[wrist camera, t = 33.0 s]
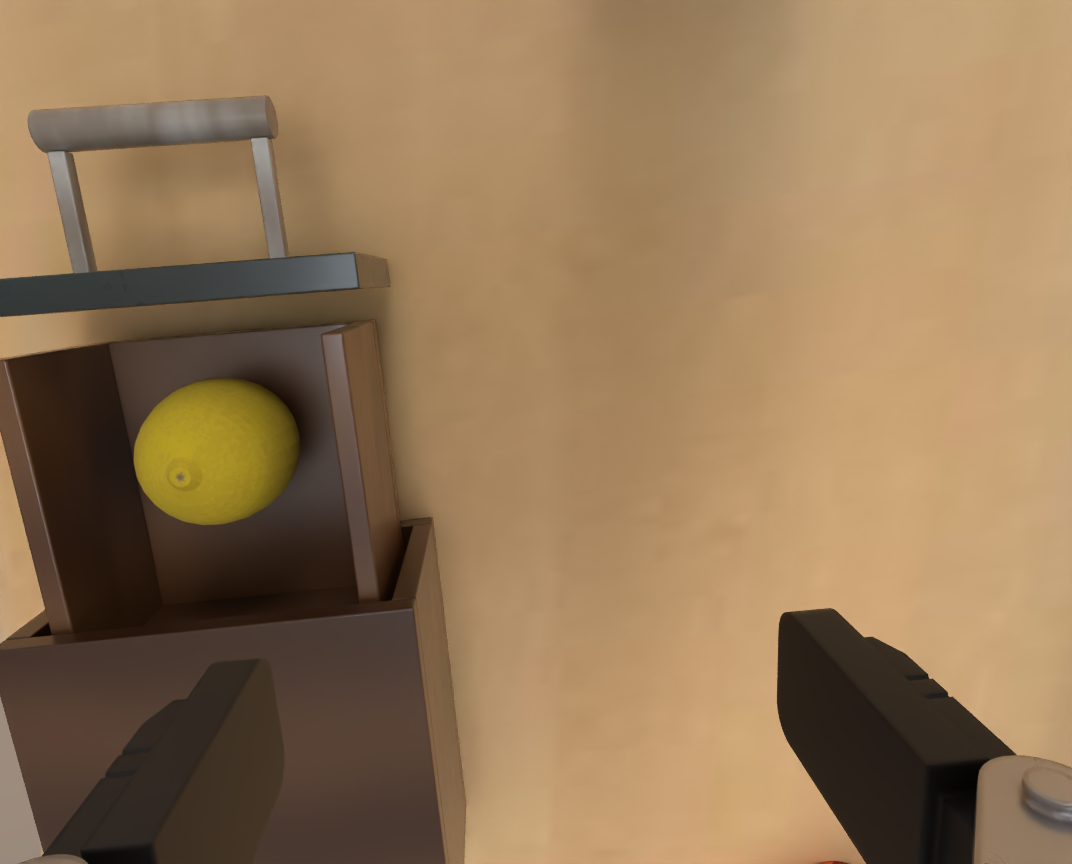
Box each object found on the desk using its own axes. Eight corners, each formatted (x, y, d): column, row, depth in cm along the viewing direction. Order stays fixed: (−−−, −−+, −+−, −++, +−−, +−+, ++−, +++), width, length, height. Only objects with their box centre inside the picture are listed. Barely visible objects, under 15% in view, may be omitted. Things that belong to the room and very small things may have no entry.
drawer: (41, 143, 29) (-121, 93, 21) (370, 122, 30) (330, 65, 22) (143, 612, 33) (41, 711, 26) (426, 583, 34) (409, 671, 26)
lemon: (308, 498, 32) (250, 569, 24) (183, 473, 31) (82, 537, 23) (329, 381, 31) (277, 415, 23) (200, 353, 30) (101, 378, 22)
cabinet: (127, 546, 34) (-14, 652, 24) (432, 517, 34) (413, 607, 25) (192, 838, 37) (91, 1030, 28) (466, 805, 38) (460, 980, 29)
